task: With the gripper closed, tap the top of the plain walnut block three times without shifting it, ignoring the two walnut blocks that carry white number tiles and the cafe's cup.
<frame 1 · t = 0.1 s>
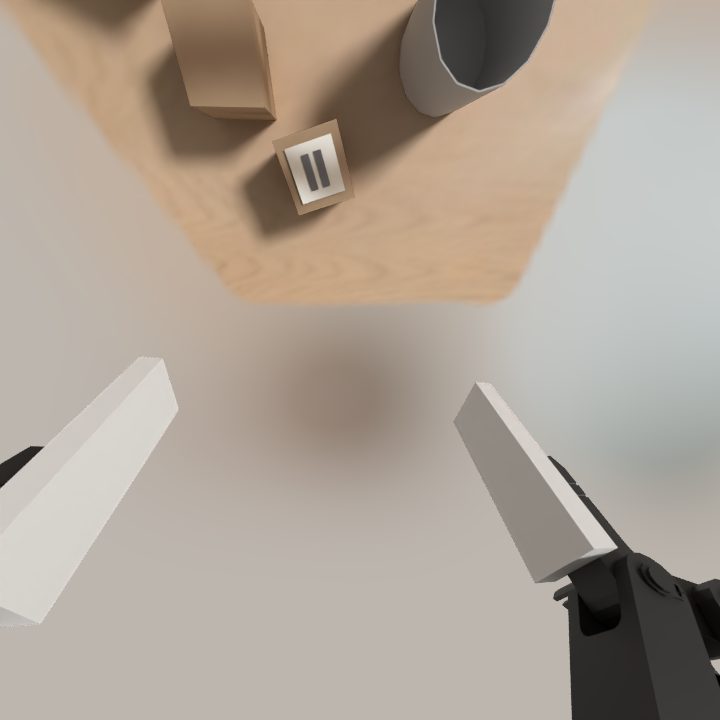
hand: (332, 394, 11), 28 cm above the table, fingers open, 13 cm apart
plain block: (238, 76, 24), on the table
numbered block b: (318, 172, 29), on the table
cup: (440, 59, 25), on the table
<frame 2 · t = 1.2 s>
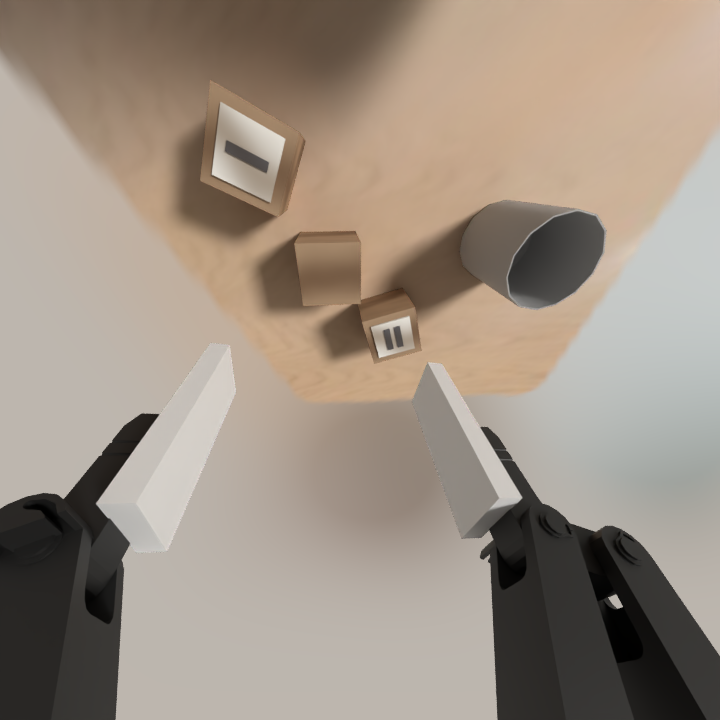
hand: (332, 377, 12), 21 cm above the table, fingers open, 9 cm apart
plain block: (329, 259, 30), on the table
numbered block b: (384, 314, 35), on the table
cup: (493, 241, 31), on the table
numbered block a: (264, 160, 24), on the table
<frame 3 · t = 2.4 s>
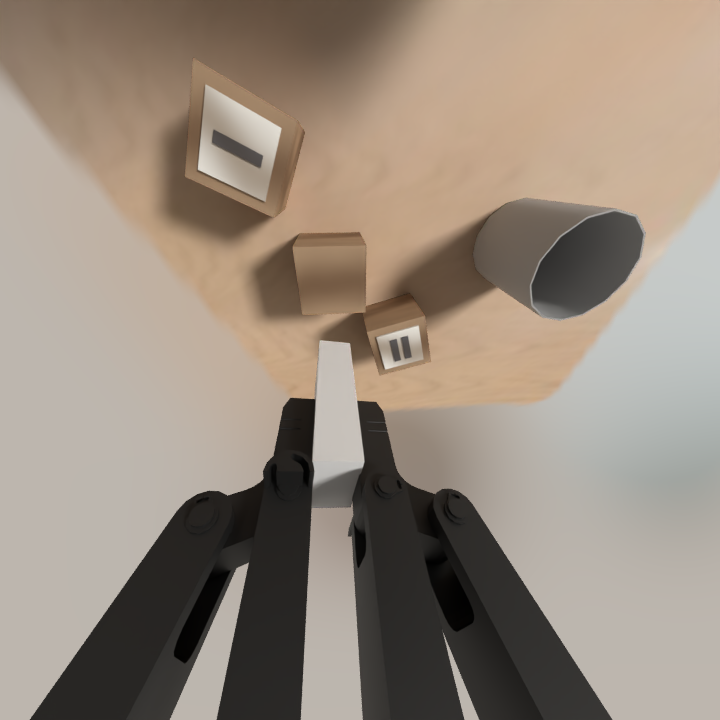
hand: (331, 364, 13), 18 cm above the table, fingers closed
plain block: (331, 263, 27), on the table
numbered block b: (390, 321, 32), on the table
cup: (510, 243, 28), on the table
numbered block a: (259, 154, 22), on the table
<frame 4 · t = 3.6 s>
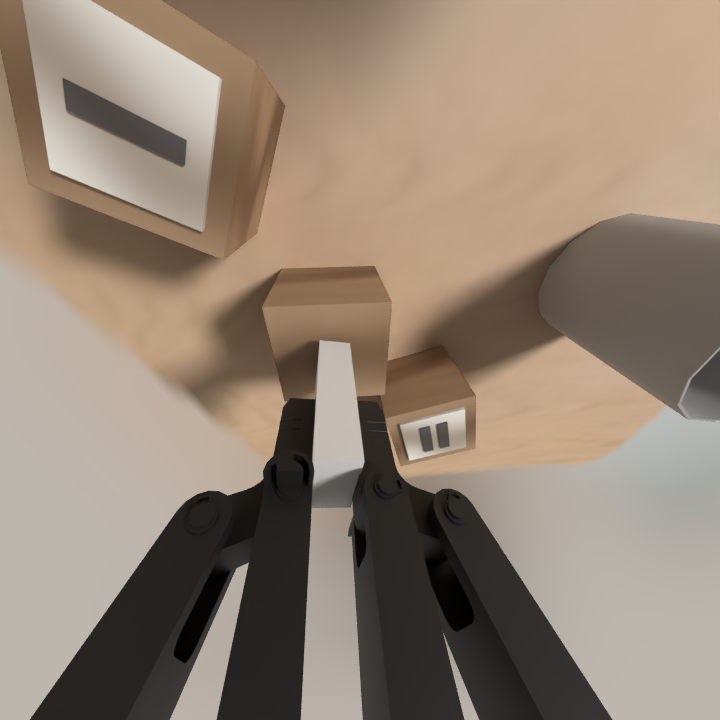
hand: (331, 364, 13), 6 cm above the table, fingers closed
plain block: (331, 309, 18), on the table
numbered block b: (412, 380, 23), on the table
cup: (593, 277, 19), on the table
numbered block a: (208, 144, 13), on the table
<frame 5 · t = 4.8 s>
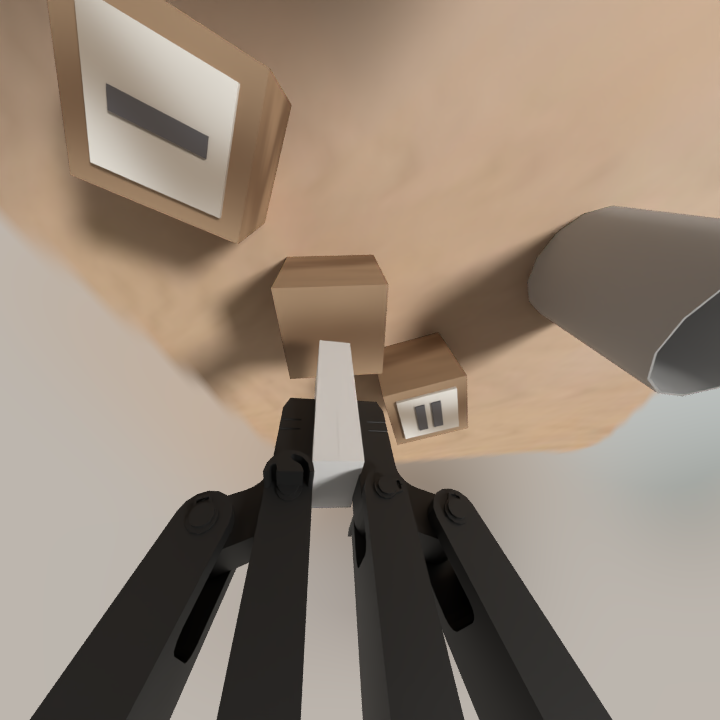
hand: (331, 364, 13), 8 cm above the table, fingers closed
plain block: (333, 296, 20), on the table
numbered block b: (409, 366, 25), on the table
cup: (579, 267, 20), on the table
numbered block a: (221, 140, 14), on the table
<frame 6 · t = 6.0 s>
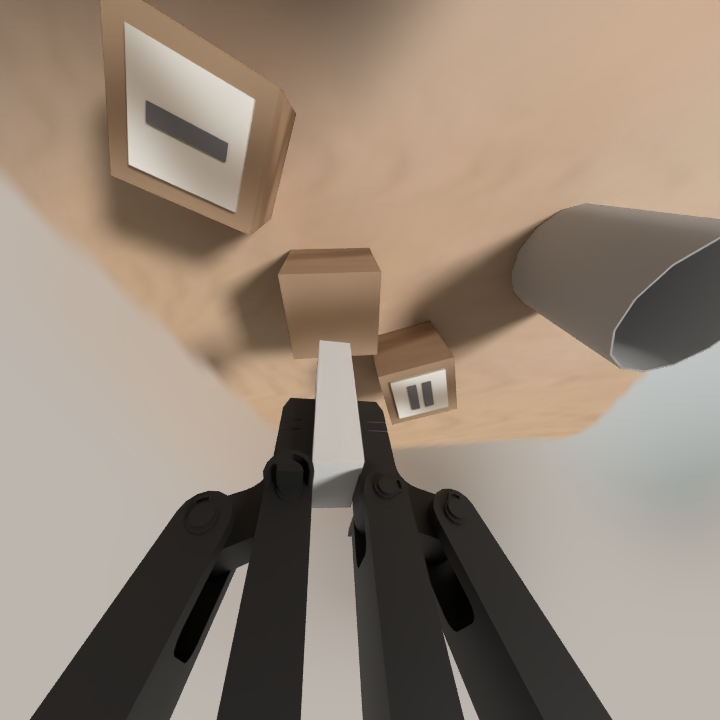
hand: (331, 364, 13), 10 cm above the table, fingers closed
plain block: (332, 286, 22), on the table
numbered block b: (404, 353, 26), on the table
cup: (559, 260, 22), on the table
numbered block a: (233, 145, 16), on the table
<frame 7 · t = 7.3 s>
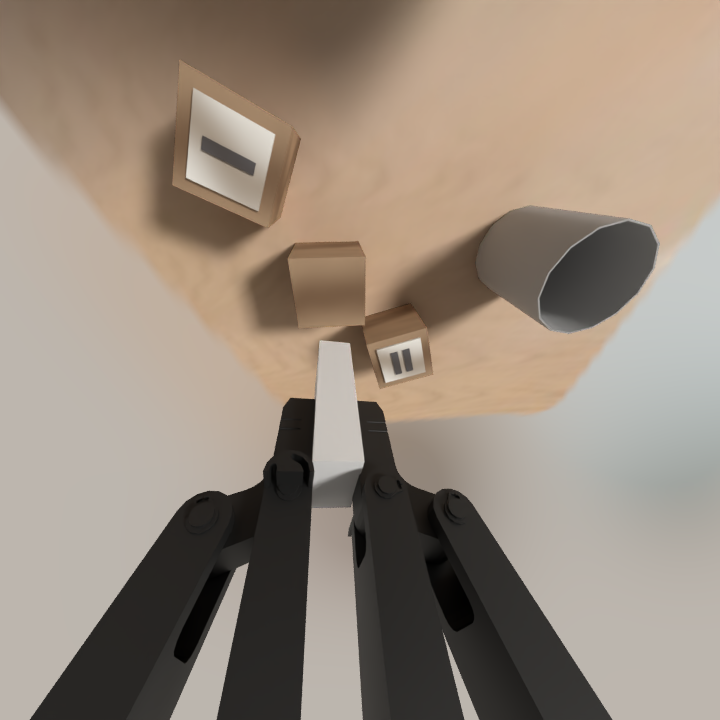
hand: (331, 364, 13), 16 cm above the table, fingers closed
plain block: (329, 273, 26), on the table
numbered block b: (390, 332, 31), on the table
cup: (513, 251, 27), on the table
numbered block a: (253, 162, 21), on the table
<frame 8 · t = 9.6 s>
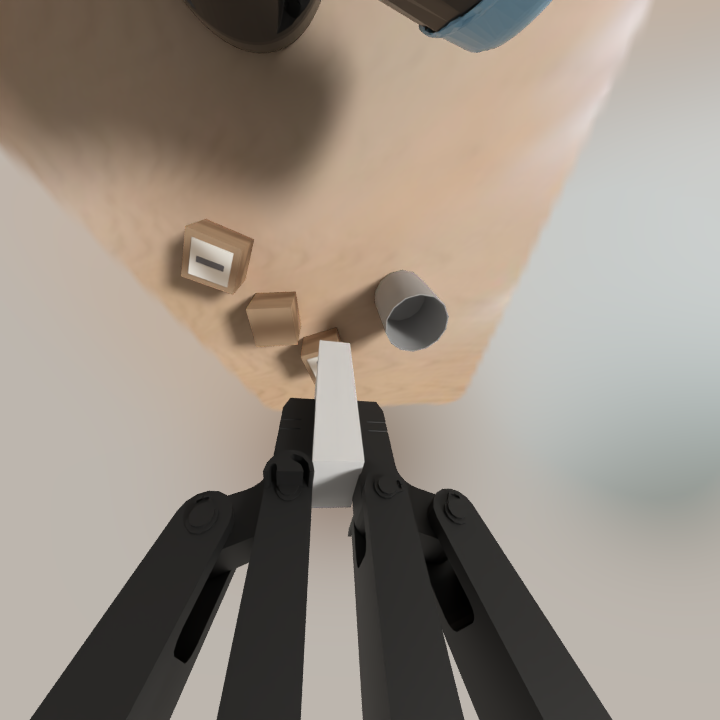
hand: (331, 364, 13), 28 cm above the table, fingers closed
plain block: (279, 310, 41), on the table
numbered block b: (325, 346, 46), on the table
cup: (399, 295, 42), on the table
numbered block a: (227, 251, 36), on the table
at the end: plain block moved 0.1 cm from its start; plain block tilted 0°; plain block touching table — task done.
